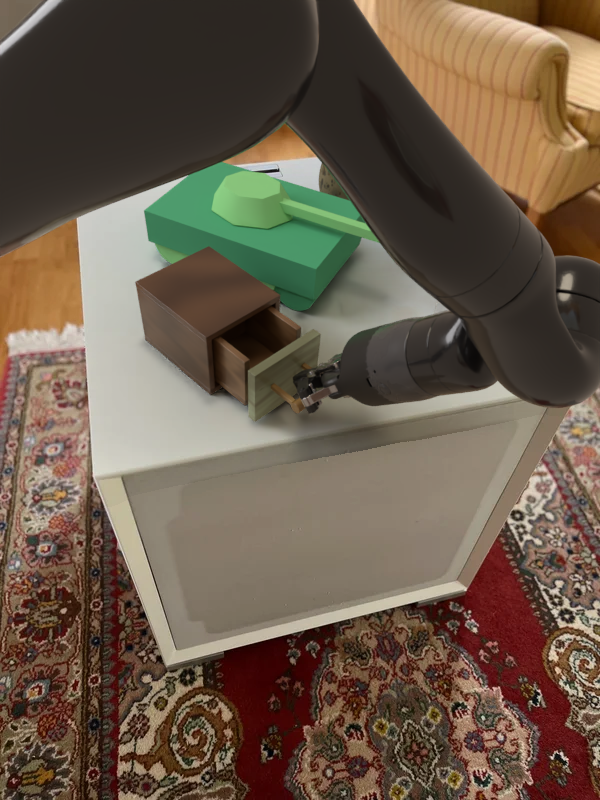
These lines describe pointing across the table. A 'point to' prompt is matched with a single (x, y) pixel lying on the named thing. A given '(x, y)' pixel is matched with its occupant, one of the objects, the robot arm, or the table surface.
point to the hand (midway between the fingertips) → (300, 382)
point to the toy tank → (259, 228)
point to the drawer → (264, 361)
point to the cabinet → (198, 309)
